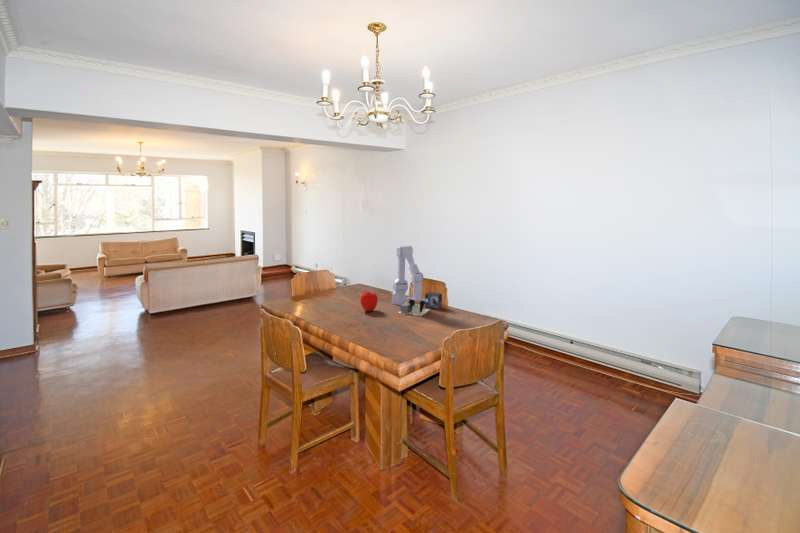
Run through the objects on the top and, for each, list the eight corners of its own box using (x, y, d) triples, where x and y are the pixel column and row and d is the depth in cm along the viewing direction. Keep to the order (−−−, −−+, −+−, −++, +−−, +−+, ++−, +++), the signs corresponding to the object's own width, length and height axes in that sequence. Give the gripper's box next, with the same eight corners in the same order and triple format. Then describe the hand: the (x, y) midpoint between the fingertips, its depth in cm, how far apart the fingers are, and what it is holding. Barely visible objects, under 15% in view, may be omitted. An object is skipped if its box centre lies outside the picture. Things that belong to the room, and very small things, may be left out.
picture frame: (424, 308, 278) (424, 293, 276) (428, 305, 284) (428, 291, 282) (438, 310, 273) (438, 295, 272) (442, 307, 279) (442, 293, 277)
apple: (361, 314, 263) (360, 294, 261) (359, 309, 275) (359, 290, 272) (378, 313, 266) (378, 293, 263) (376, 308, 277) (376, 289, 275)
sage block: (412, 313, 263) (412, 306, 262) (415, 311, 268) (415, 304, 267) (419, 314, 261) (419, 307, 260) (422, 312, 266) (422, 305, 265)
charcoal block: (400, 312, 266) (400, 305, 265) (403, 310, 270) (403, 303, 269) (407, 313, 264) (407, 306, 263) (410, 311, 268) (410, 304, 267)
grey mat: (397, 313, 265) (397, 312, 265) (407, 307, 280) (407, 306, 280) (421, 316, 259) (421, 315, 258) (430, 310, 273) (430, 309, 273)
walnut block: (404, 309, 272) (404, 304, 271) (408, 307, 278) (408, 301, 278) (414, 311, 269) (414, 305, 268) (417, 308, 275) (418, 302, 275)
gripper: (404, 291, 261) (404, 311, 264) (425, 293, 256) (425, 314, 258) (408, 289, 268) (408, 309, 270) (429, 291, 262) (429, 311, 264)
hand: (417, 311), depth 264 cm, fingers closed on sage block, 5 cm apart
